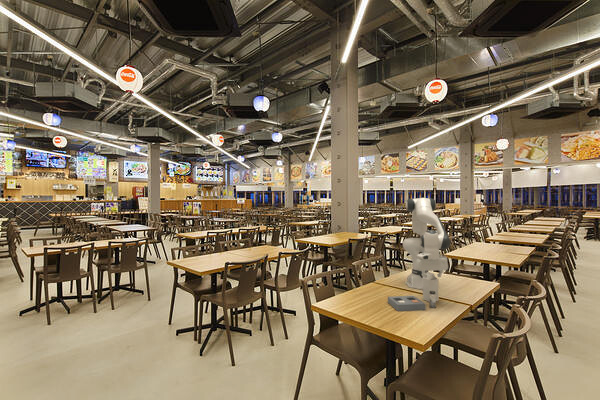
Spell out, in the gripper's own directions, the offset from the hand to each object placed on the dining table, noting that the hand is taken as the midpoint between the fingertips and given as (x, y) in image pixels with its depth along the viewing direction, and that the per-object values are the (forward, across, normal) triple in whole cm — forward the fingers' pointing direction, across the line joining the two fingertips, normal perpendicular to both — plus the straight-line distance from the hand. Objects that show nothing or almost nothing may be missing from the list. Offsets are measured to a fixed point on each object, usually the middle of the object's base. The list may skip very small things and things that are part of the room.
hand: (432, 277), depth 185 cm
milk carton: (+20, -6, -13) cm, 24 cm away
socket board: (+19, +16, -4) cm, 25 cm away
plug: (+19, 0, 0) cm, 19 cm away
